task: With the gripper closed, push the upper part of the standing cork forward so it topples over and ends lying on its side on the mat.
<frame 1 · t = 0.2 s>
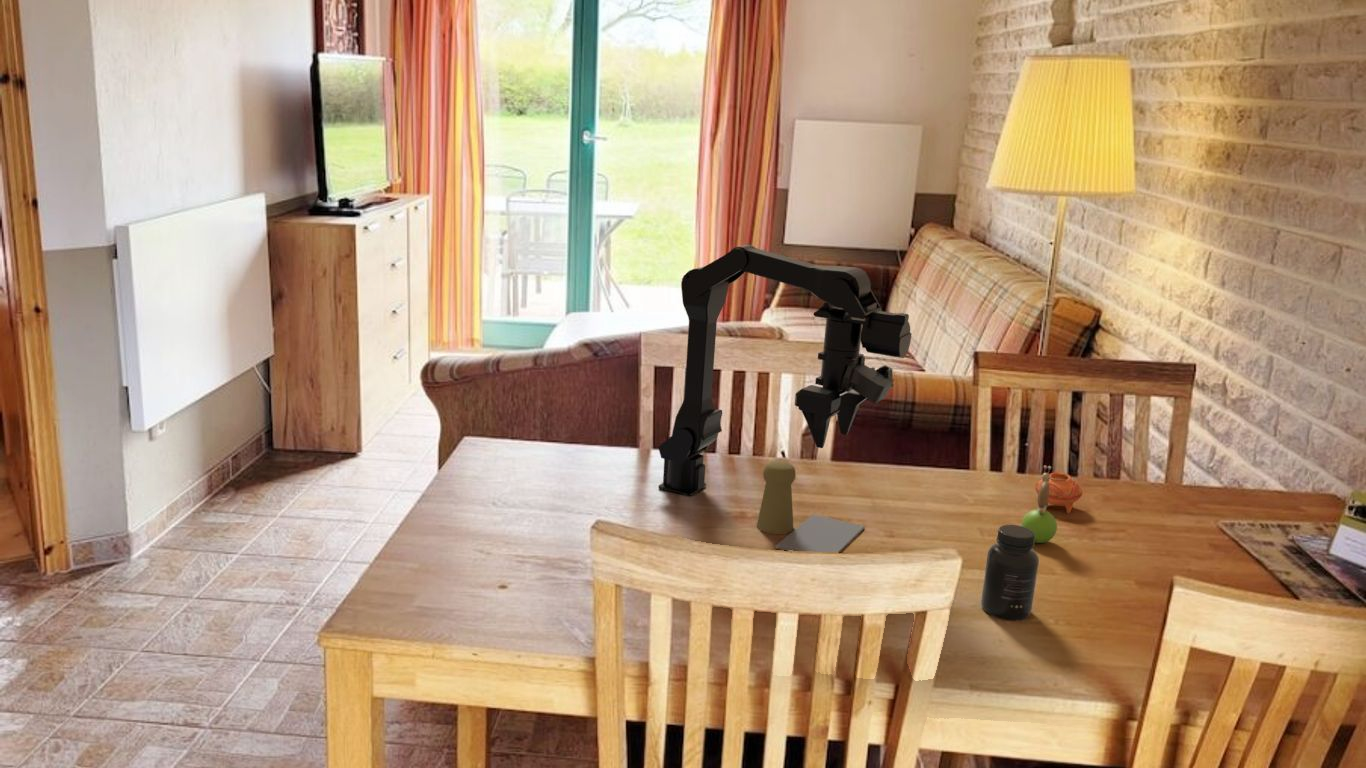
hand: (832, 440, 174), 14 cm above the table, tool pointing down, fingers open, 9 cm apart
supplement bottle: (1005, 611, 150), on the table
pot: (1055, 508, 190), on the table
mat: (821, 538, 171), on the table
cork: (775, 528, 175), on the table
snail figurine: (1036, 541, 175), on the table
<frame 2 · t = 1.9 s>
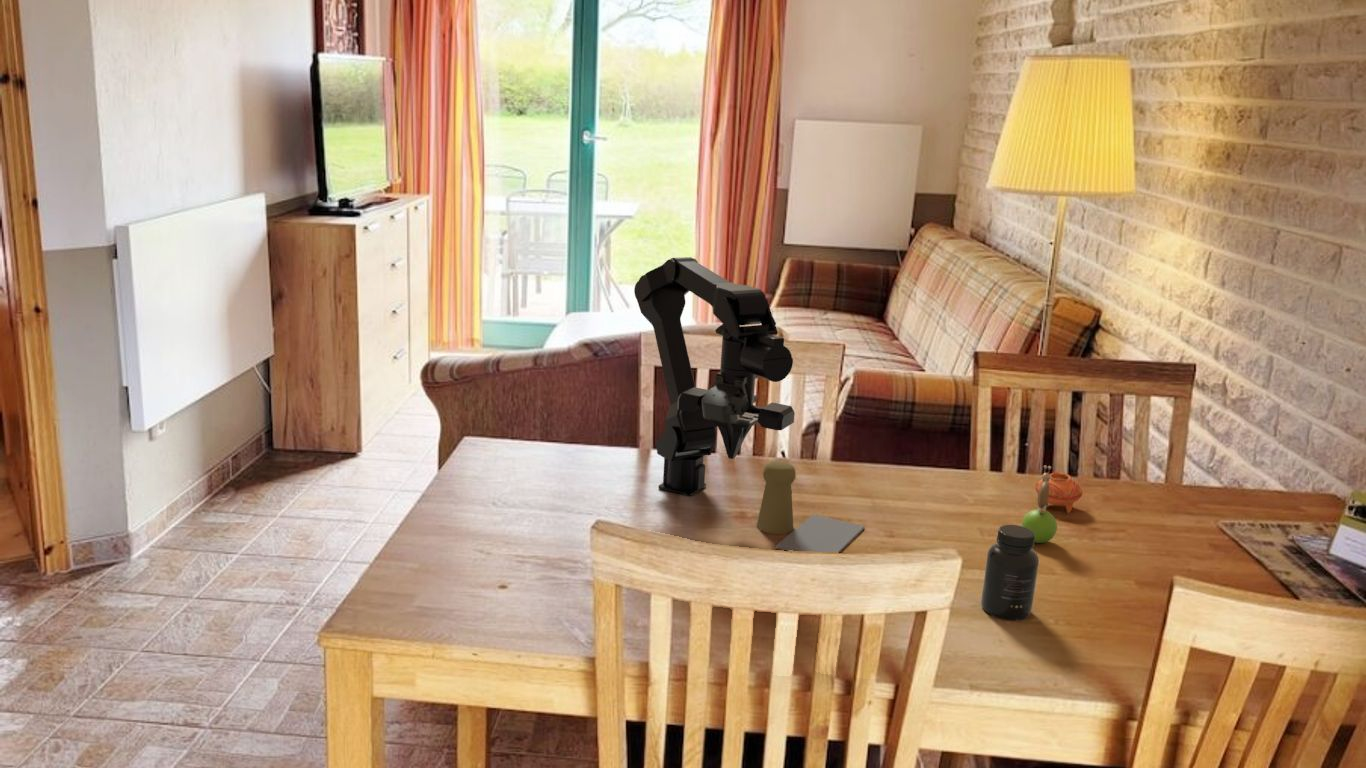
hand: (731, 458, 176), 10 cm above the table, tool pointing down, fingers closed
nothing on the table moved.
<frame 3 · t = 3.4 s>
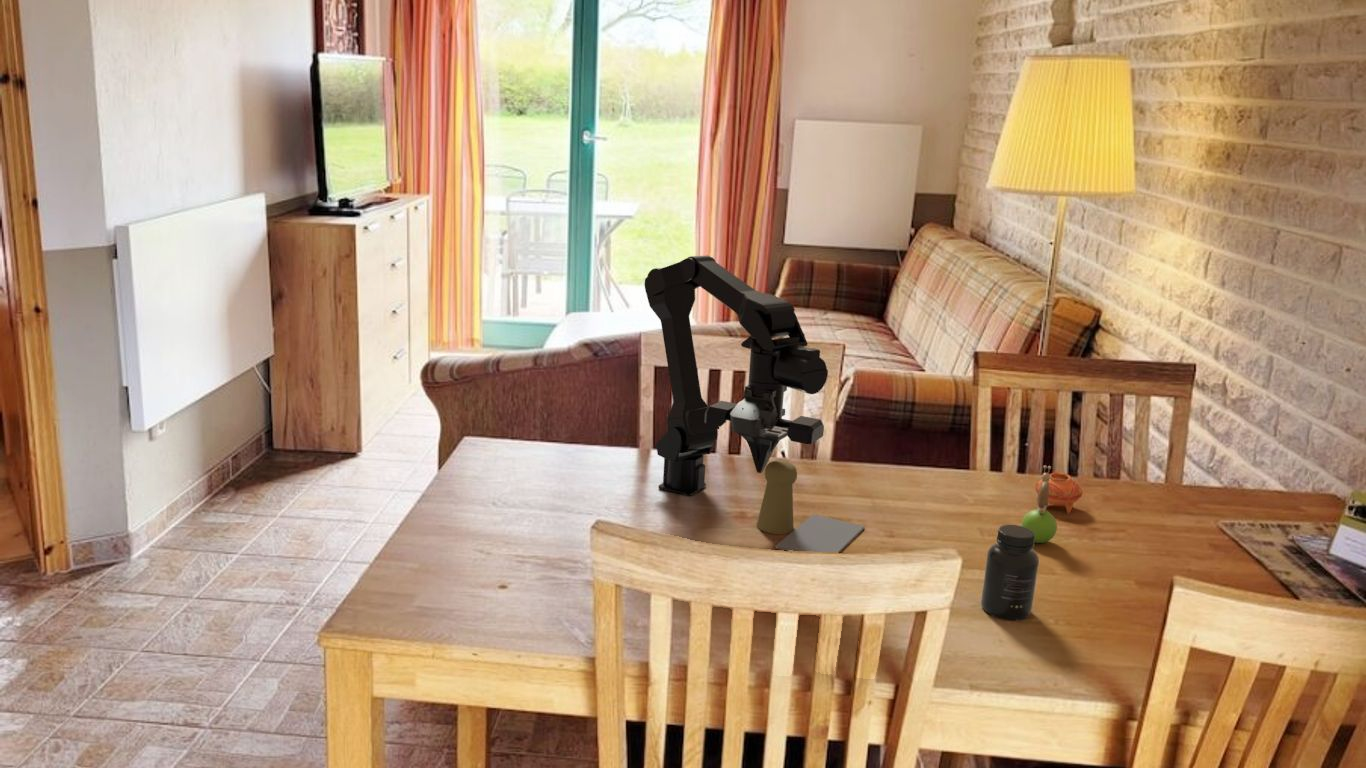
hand: (760, 472, 174), 9 cm above the table, tool pointing down, fingers closed
cork: (775, 527, 175), on the table, touching gripper
everything else where it was.
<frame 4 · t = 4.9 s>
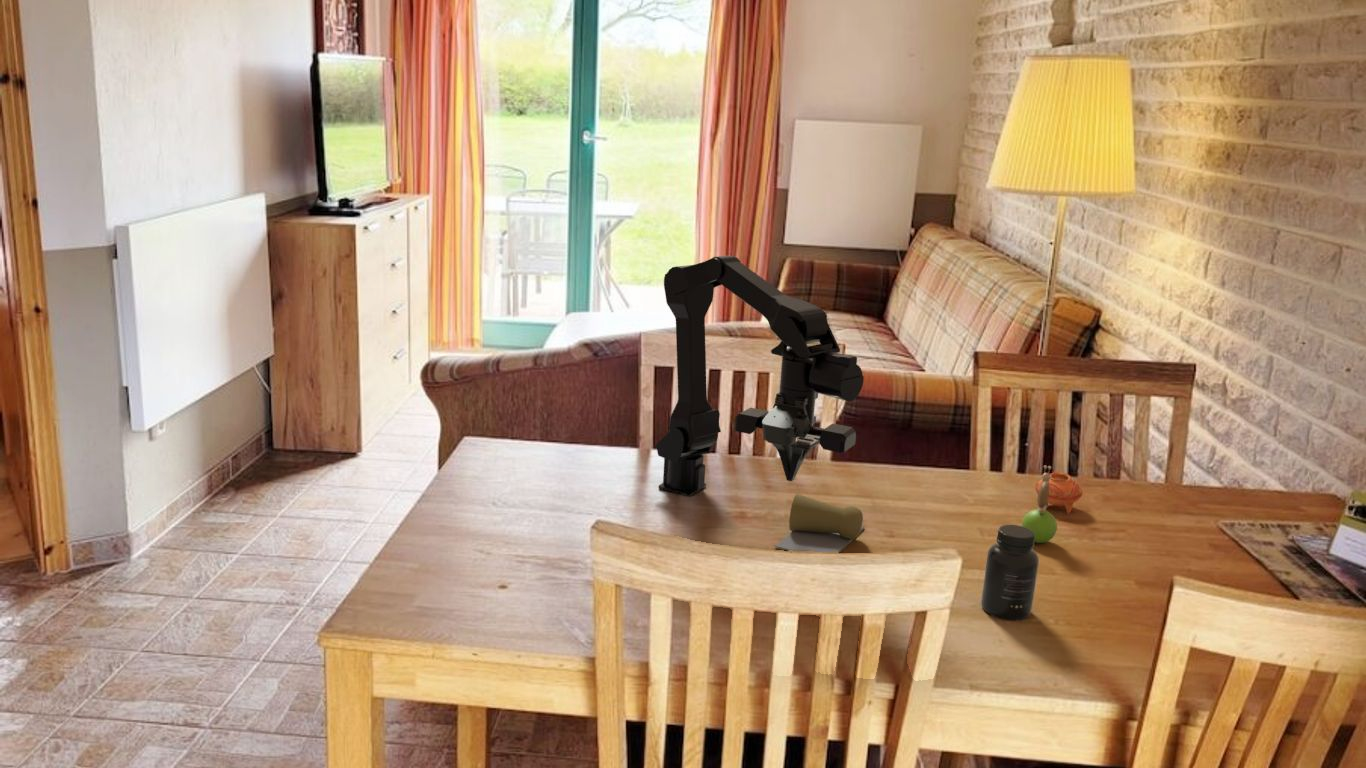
hand: (790, 480, 172), 9 cm above the table, tool pointing down, fingers closed
cork: (792, 511, 173), point 3 cm above the table, touching mat
everything else where it was.
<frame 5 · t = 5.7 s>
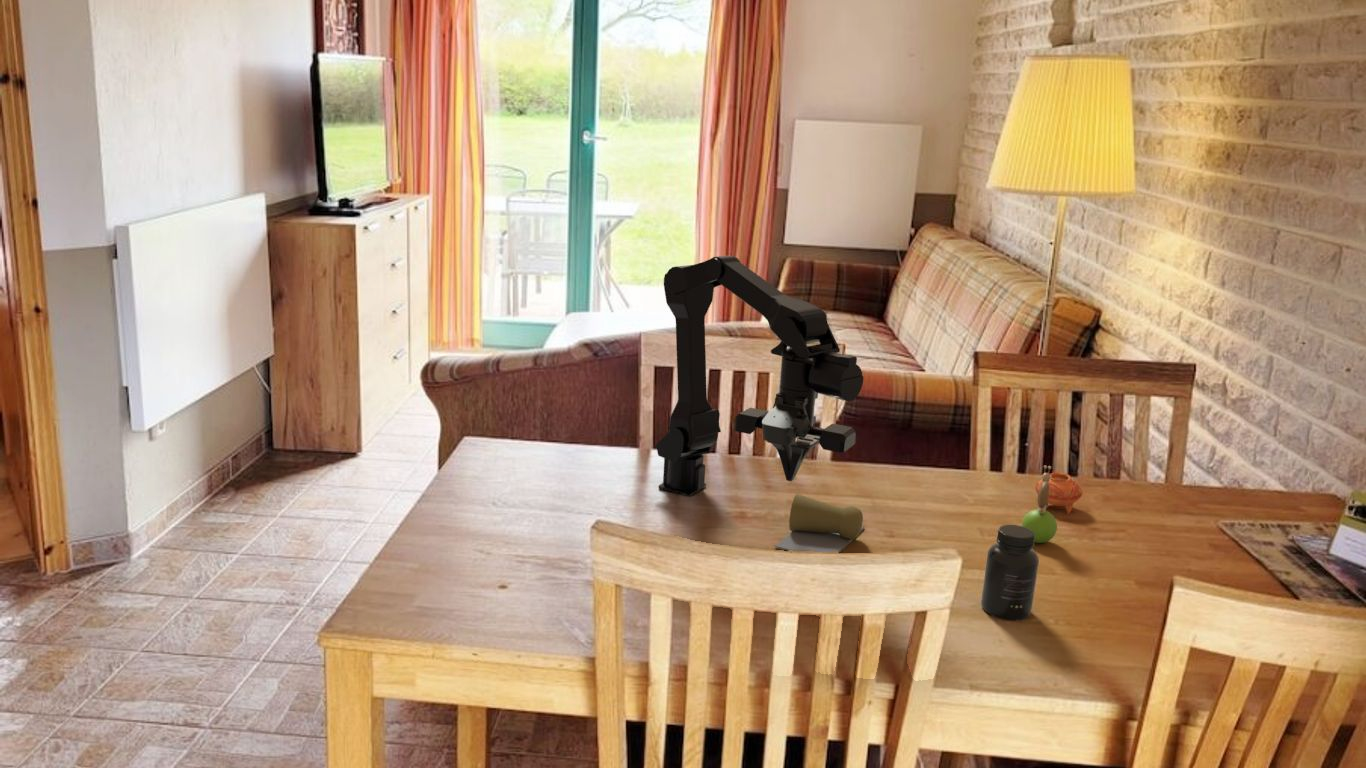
hand: (790, 480, 172), 8 cm above the table, tool pointing down, fingers closed
nothing on the table moved.
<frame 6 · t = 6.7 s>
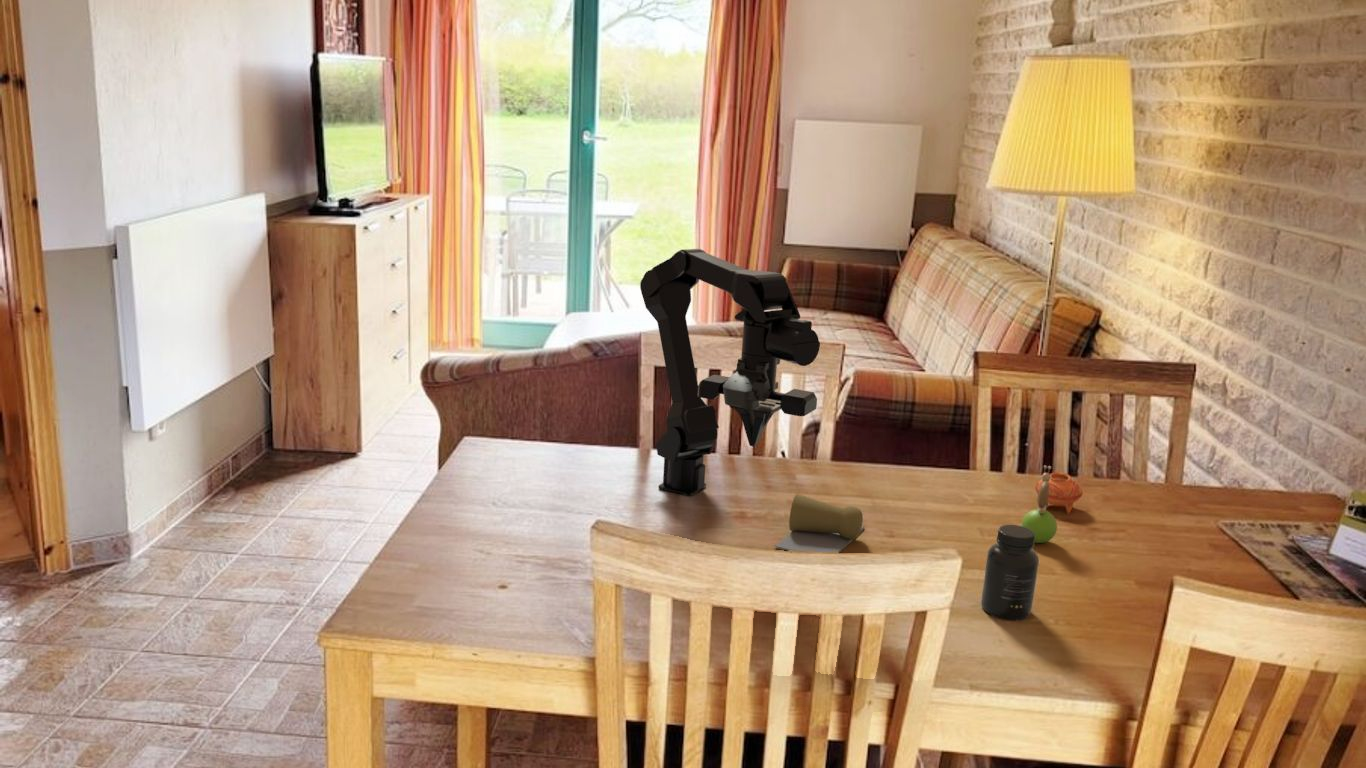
hand: (753, 445, 174), 13 cm above the table, tool pointing down, fingers closed
nothing on the table moved.
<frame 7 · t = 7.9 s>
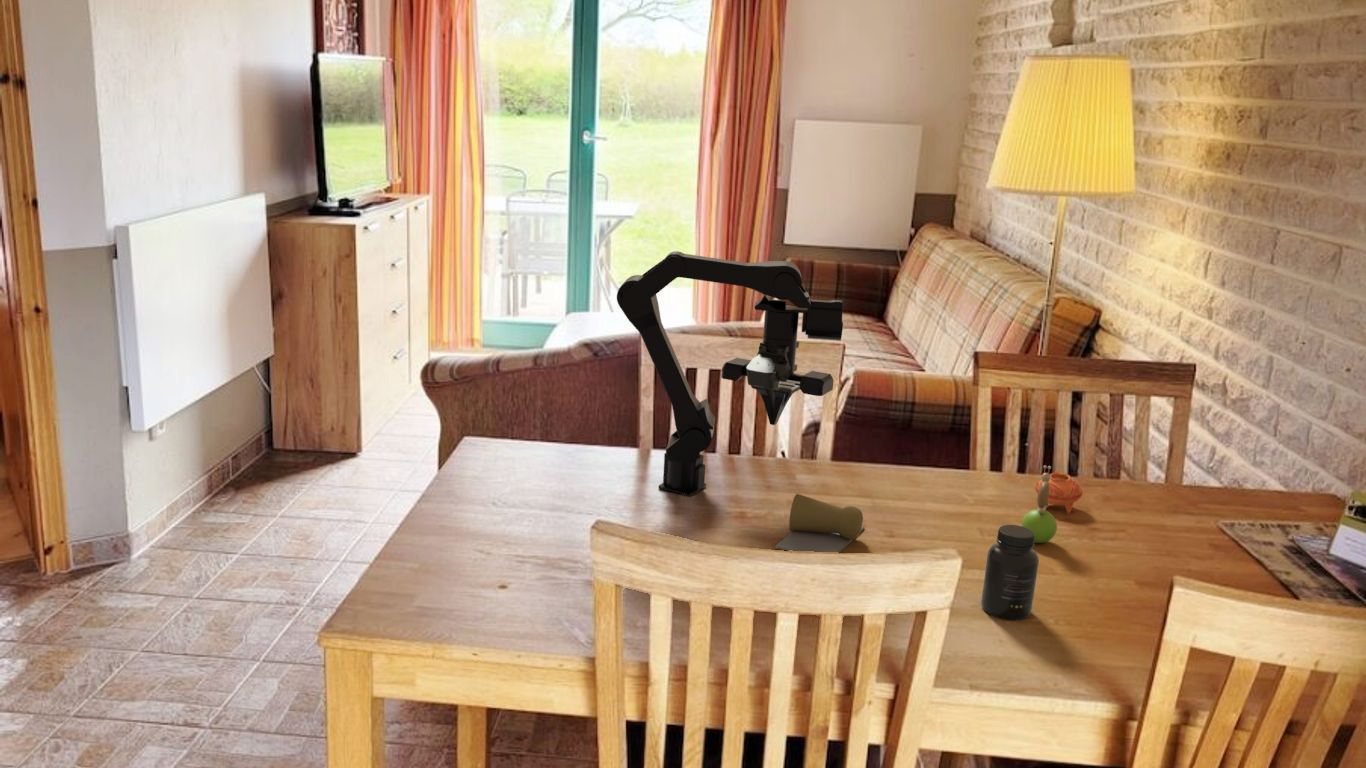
hand: (773, 424, 186), 13 cm above the table, tool pointing down, fingers closed
nothing on the table moved.
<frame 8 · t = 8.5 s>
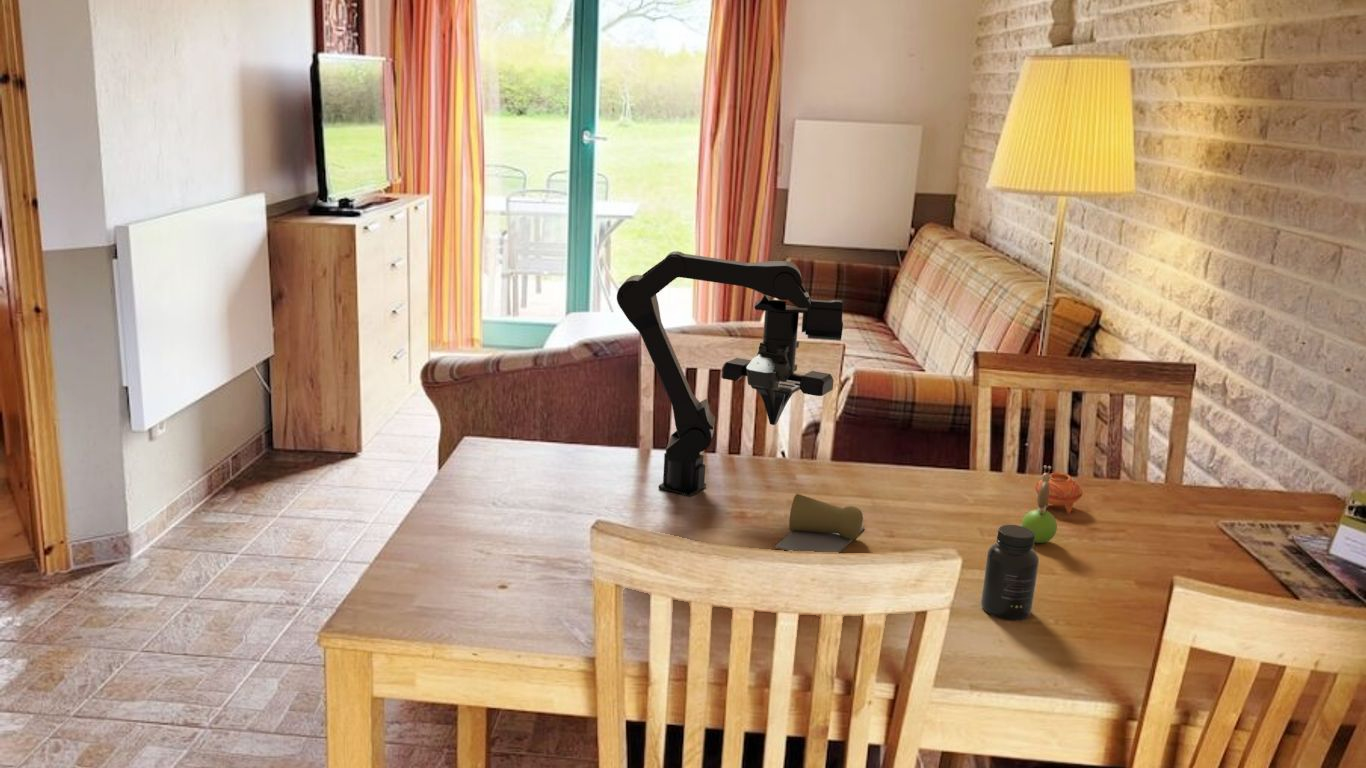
hand: (773, 424, 186), 13 cm above the table, tool pointing down, fingers closed
nothing on the table moved.
at the end: cork tilted 91°; cork inside the target area (5.8 cm from its centre), point 3.1 cm above the table; the gripper is holding nothing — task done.
